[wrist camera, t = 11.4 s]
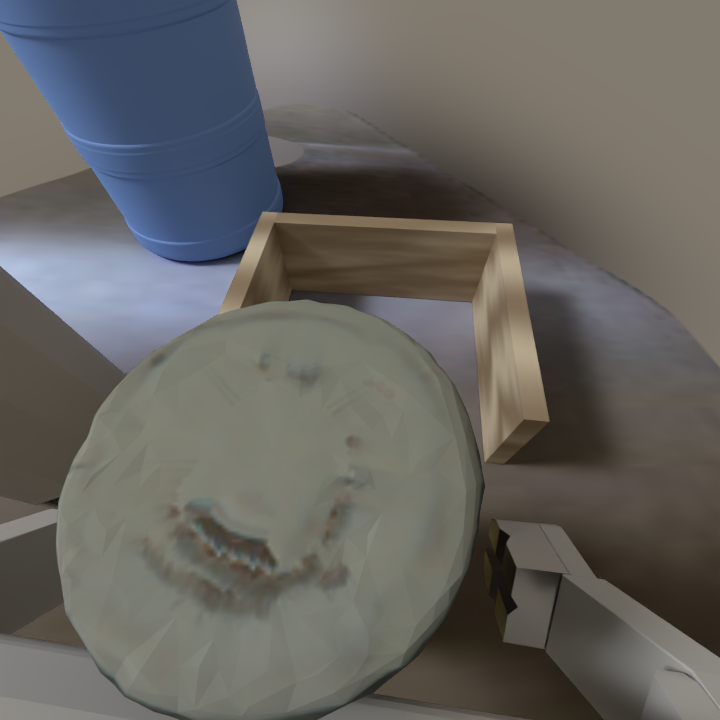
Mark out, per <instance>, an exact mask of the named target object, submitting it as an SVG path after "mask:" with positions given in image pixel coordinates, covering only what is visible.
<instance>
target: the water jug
mask: <svg viewBox="0 0 720 720" xmlns="http://www.w3.org/2000/svg"><path fill="white" fill-rule="evenodd" d="M0 31H1V33H2V34H3V36H4V37H5V39H6V40H7V42H8V43H9V45H10V46H11V48H12V49H13V51H14V52H15V54H16V55H17V57H18V58H19V60H20V61H21V63H22V64H23V66H24V67H25V69H26V70H27V72H28V73H29V75H30V76H31V78H32V79H33V81H34V82H35V84H36V85H37V87H38V88H39V90H40V91H41V93H42V94H43V96H44V97H45V99H46V100H47V102H48V103H49V105H50V106H51V108H52V109H53V111H54V112H55V114H56V115H57V117H58V118H59V120H60V121H61V123H62V126H63V128H64V130H65V132H66V133H67V135H68V137H69V139H70V140H71V142H72V143H73V145H74V146H75V148H76V149H77V150H78V152H79V154H80V155H81V156H82V157H83V159H84V160H85V161H86V163H87V164H88V165H89V166H90V167H91V168H92V170H93V171H94V173H95V174H96V176H97V177H98V179H99V180H100V182H101V183H102V185H103V186H104V188H105V189H106V191H107V192H108V194H109V195H110V197H111V198H112V200H113V201H114V203H115V204H116V206H117V207H118V209H119V210H120V212H121V213H122V215H123V216H124V218H125V221H126V223H127V225H128V227H129V228H130V229H131V231H132V232H133V234H134V235H135V237H136V238H137V240H138V241H139V242H140V243H141V244H142V245H143V246H144V247H145V248H147V249H148V250H150V251H151V252H153V253H155V254H157V255H160V256H162V257H165V258H169V259H173V260H180V261H205V260H212V259H218V258H222V257H226V256H229V255H232V254H235V253H237V252H240V251H242V250H244V249H246V248H247V246H248V244H249V242H250V239H251V237H252V235H253V232H254V230H255V228H256V226H257V223H258V221H259V219H260V216H261V214H262V212H277V213H282V209H283V195H282V190H281V186H280V182H279V179H278V177H277V175H276V171H275V167H274V162H273V158H272V153H271V149H270V145H269V140H268V136H267V132H266V128H265V120H264V115H263V111H262V107H261V102H260V98H259V94H258V91H257V89H256V85H255V81H254V76H253V72H252V68H251V63H250V59H249V55H248V50H247V45H246V40H245V35H244V31H243V27H242V22H241V18H240V14H239V9H238V5H237V1H236V0H0Z"/></svg>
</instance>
